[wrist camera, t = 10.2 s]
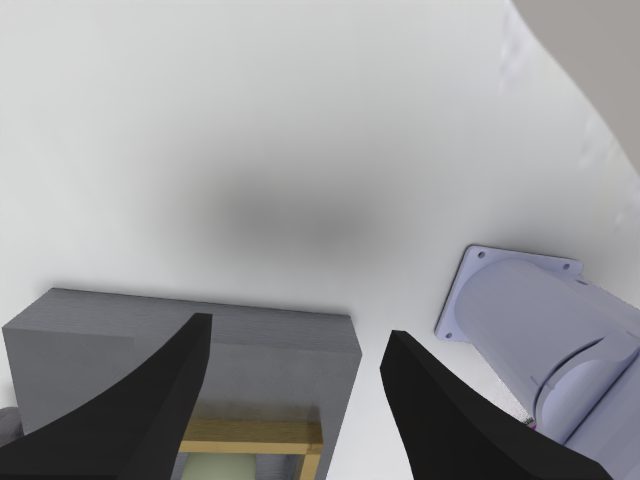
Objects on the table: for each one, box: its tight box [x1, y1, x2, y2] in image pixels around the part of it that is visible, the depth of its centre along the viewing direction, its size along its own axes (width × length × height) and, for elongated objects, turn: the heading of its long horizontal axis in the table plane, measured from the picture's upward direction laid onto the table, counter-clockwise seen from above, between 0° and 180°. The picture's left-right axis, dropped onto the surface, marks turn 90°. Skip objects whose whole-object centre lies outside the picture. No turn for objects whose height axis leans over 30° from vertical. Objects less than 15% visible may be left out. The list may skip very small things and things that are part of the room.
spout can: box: [181, 452, 257, 480], centre depth 23 cm, size 5×5×8 cm
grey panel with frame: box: [0, 288, 362, 480], centre depth 23 cm, size 23×22×6 cm
